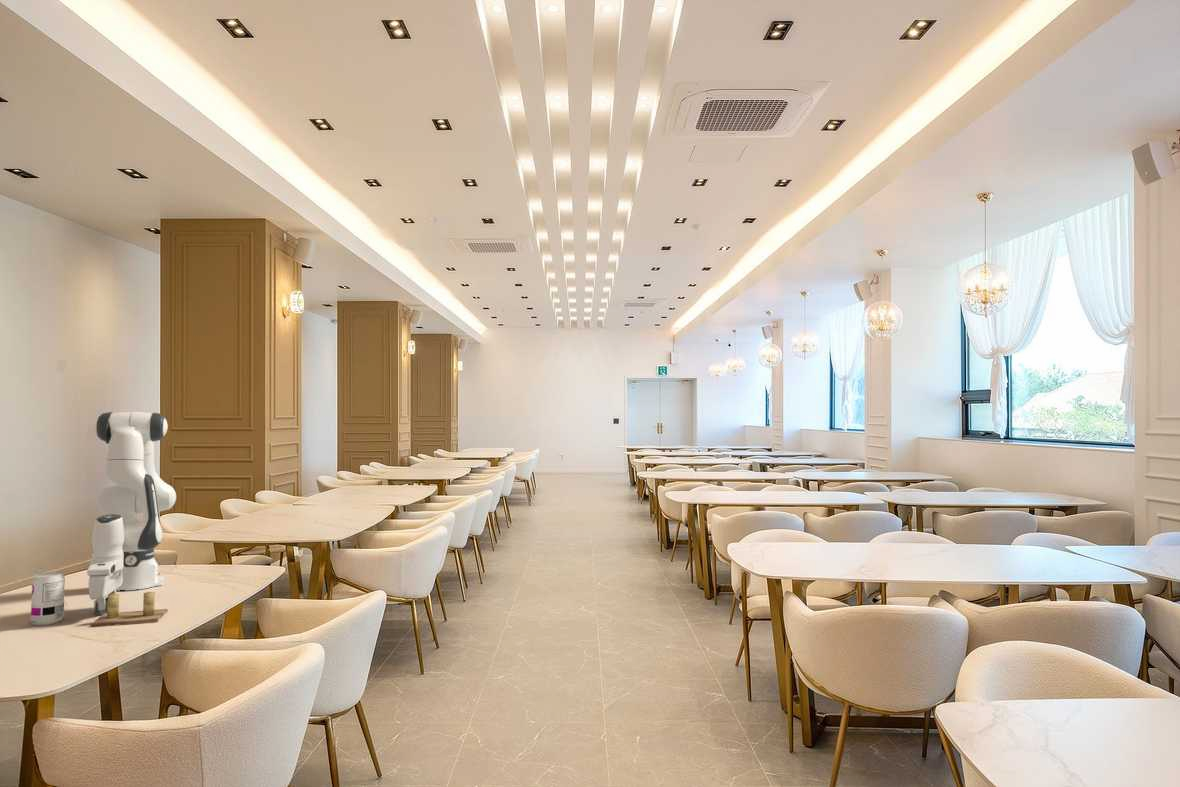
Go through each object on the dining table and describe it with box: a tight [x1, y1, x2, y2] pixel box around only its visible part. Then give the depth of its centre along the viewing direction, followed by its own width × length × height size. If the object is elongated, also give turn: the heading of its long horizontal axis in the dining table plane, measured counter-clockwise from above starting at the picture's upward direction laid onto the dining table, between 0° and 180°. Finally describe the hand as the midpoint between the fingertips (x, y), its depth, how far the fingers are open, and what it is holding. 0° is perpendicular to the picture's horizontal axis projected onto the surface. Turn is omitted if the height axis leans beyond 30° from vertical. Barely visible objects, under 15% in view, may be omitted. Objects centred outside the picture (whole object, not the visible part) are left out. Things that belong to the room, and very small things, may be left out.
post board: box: [90, 591, 168, 628], centre depth 226 cm, size 12×18×8 cm, turn 108°
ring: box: [93, 596, 108, 615], centre depth 233 cm, size 6×6×4 cm
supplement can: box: [30, 571, 66, 626], centre depth 222 cm, size 8×8×15 cm
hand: (106, 606), depth 233 cm, fingers closed on ring, 6 cm apart
